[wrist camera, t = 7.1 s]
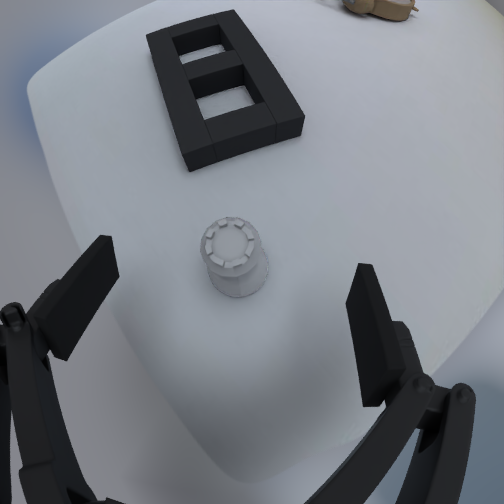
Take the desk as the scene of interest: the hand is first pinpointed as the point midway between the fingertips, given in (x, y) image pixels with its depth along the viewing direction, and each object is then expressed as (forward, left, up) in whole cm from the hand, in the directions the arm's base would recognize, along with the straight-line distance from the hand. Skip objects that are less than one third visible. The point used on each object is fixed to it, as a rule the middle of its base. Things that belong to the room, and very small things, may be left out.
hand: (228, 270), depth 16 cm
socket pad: (+5, +19, -7) cm, 21 cm away
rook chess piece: (+1, +1, -8) cm, 8 cm away
